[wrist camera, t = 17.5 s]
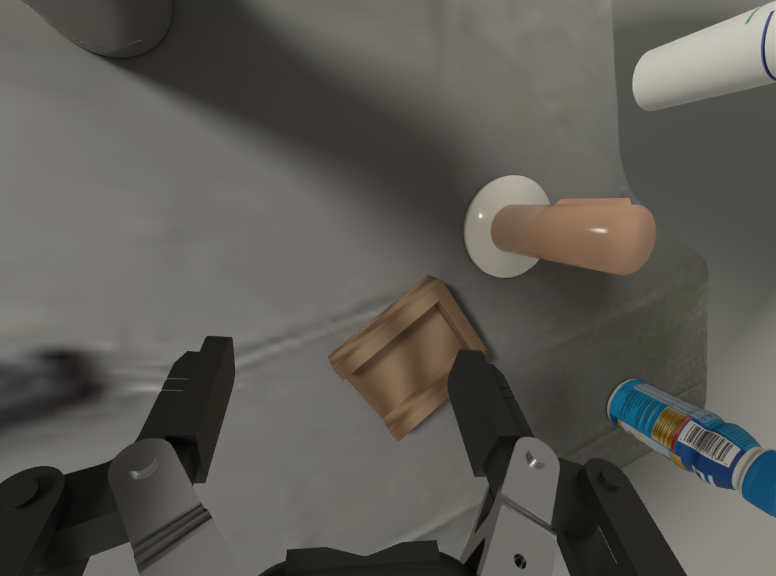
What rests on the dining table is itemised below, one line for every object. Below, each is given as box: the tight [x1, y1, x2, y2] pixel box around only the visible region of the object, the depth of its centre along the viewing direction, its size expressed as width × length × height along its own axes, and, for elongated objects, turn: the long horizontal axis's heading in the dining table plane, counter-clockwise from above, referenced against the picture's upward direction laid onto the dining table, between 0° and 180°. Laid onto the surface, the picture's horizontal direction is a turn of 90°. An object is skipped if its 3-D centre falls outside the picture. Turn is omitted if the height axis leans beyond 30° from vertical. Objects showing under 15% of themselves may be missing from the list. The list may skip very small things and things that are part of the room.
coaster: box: [463, 175, 550, 278], centre depth 43 cm, size 12×12×1 cm
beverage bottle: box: [607, 379, 776, 517], centre depth 48 cm, size 8×8×20 cm
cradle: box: [328, 275, 493, 441], centre depth 41 cm, size 14×12×4 cm
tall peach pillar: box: [491, 198, 656, 275], centre depth 36 cm, size 8×6×15 cm
